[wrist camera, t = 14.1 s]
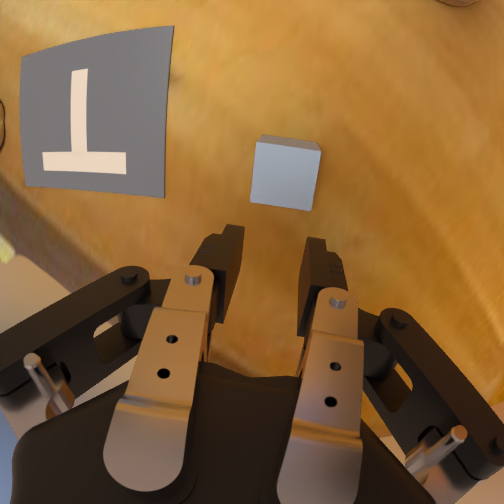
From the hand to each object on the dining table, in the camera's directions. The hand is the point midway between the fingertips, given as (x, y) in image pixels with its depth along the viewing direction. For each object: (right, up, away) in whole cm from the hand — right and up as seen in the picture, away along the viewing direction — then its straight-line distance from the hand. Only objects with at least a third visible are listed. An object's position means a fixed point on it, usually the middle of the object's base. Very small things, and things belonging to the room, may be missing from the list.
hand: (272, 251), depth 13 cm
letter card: (-20, +15, +14) cm, 29 cm away
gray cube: (+2, +8, +15) cm, 17 cm away
